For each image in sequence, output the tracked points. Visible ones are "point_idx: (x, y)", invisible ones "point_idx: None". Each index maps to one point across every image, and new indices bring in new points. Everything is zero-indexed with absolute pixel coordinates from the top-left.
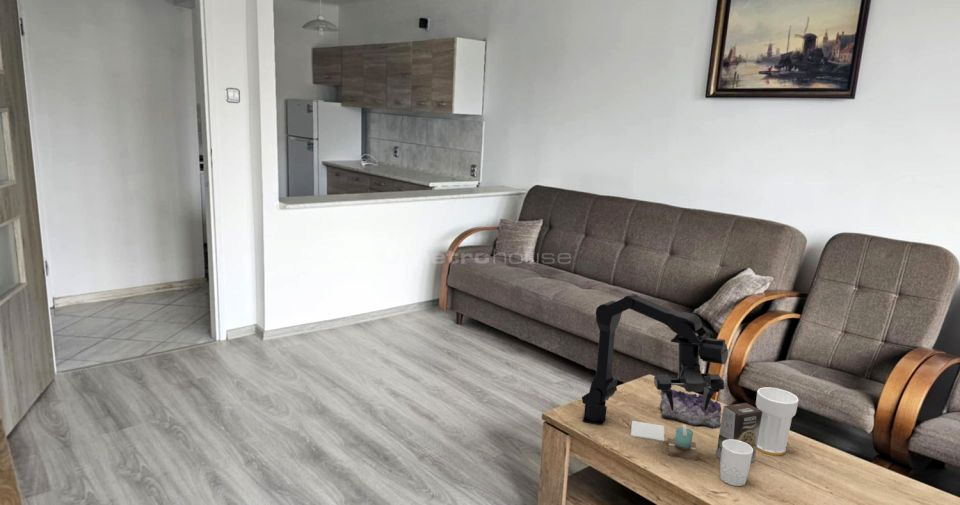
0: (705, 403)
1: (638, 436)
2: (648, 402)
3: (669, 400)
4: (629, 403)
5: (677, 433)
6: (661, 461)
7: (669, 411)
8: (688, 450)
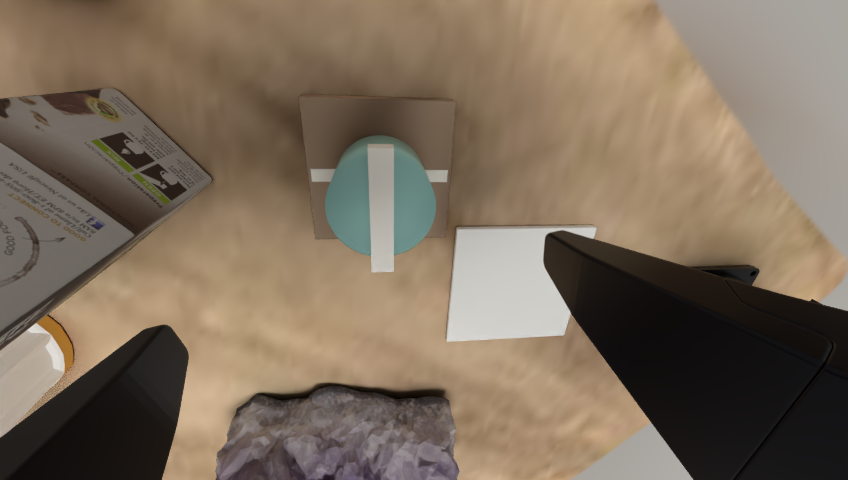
0: (73, 414)
1: (565, 226)
2: (479, 457)
3: (730, 284)
4: (542, 432)
5: (426, 176)
6: (493, 12)
7: (428, 420)
8: (349, 143)
